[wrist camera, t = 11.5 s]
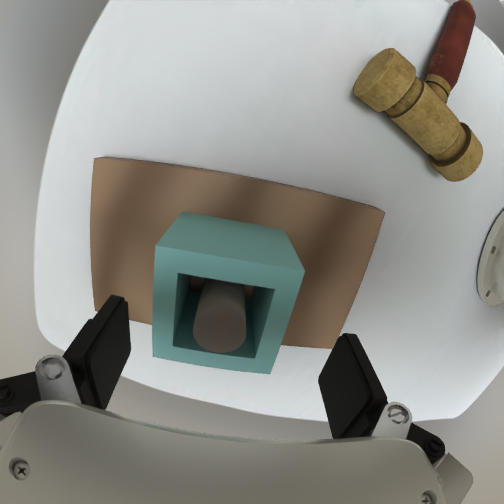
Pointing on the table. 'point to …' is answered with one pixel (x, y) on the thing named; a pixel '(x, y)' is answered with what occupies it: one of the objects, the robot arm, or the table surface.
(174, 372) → the table surface
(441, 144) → the gavel
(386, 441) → the robot arm
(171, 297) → the collar
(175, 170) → the post stand
